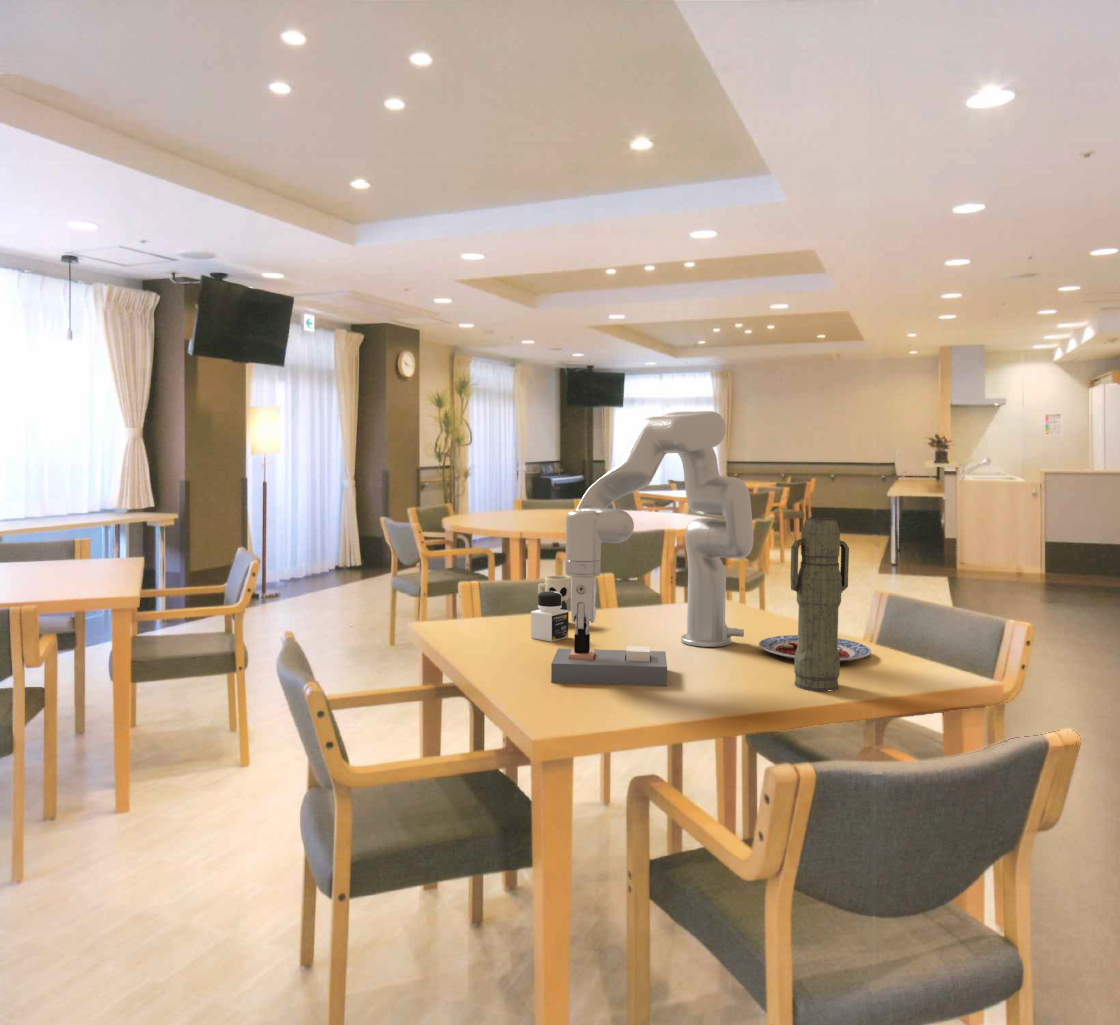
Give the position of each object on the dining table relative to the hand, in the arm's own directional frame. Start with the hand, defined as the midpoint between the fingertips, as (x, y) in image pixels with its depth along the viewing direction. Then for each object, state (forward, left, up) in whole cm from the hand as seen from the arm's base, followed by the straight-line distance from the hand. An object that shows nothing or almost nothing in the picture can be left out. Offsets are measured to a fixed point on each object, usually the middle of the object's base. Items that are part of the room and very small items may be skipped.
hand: (581, 652), depth 186 cm
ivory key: (-12, 0, -2) cm, 12 cm away
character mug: (+11, -56, -5) cm, 57 cm away
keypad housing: (-6, 0, -5) cm, 8 cm away
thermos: (-49, +3, -5) cm, 49 cm away
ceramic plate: (-54, -26, -5) cm, 60 cm away
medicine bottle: (+11, -36, -5) cm, 38 cm away
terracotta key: (0, 0, -3) cm, 3 cm away
